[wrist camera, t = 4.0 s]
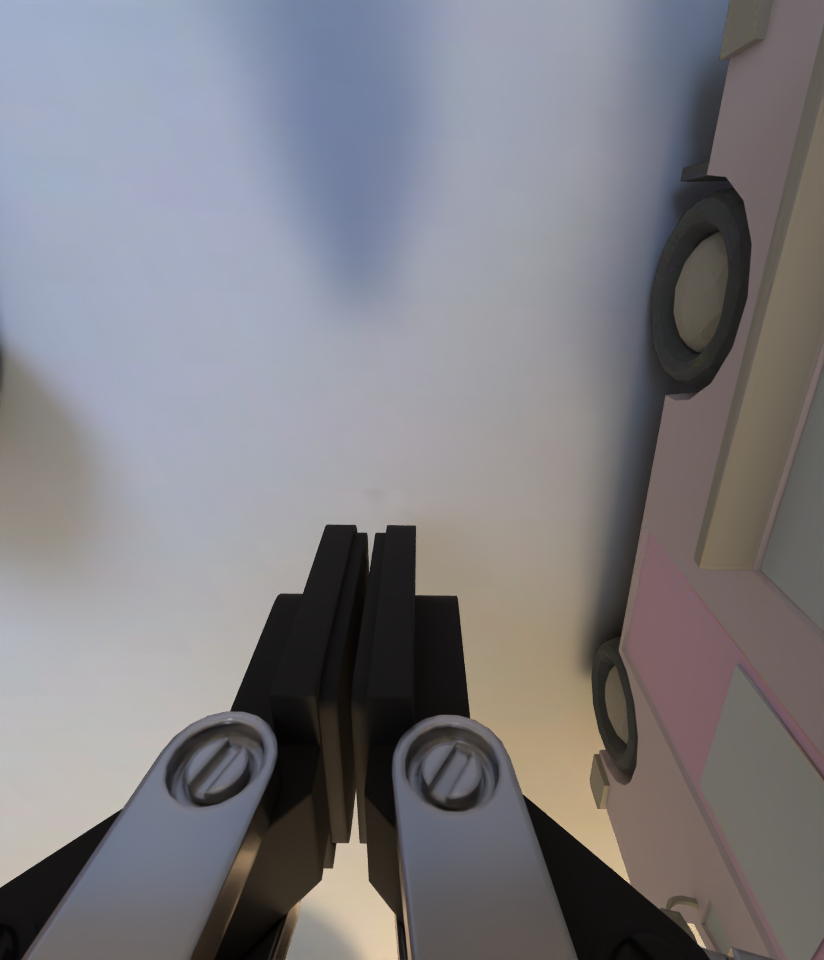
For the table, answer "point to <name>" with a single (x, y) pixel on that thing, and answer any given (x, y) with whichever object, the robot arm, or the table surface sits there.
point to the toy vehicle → (734, 530)
